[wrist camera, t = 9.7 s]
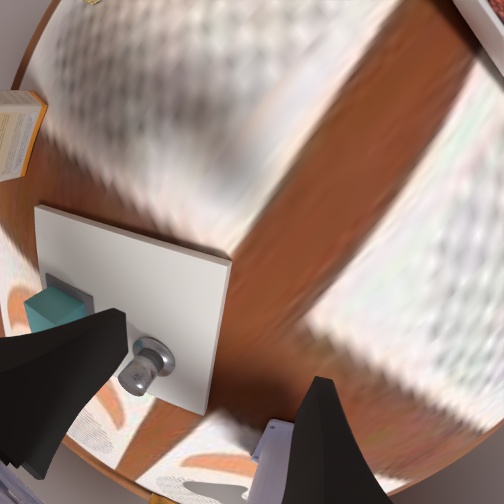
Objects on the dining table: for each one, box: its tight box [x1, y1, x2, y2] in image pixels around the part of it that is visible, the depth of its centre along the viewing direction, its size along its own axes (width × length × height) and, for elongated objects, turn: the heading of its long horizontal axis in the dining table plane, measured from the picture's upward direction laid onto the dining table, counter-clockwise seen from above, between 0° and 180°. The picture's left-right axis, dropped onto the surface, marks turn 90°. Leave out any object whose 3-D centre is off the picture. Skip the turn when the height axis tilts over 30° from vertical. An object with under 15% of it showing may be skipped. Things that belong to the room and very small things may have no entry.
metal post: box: [118, 336, 176, 396], centre depth 20 cm, size 4×4×4 cm
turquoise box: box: [24, 285, 86, 333], centre depth 21 cm, size 5×5×4 cm
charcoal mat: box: [45, 273, 95, 316], centre depth 23 cm, size 7×7×1 cm
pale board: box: [34, 205, 232, 416], centre depth 22 cm, size 16×20×1 cm
